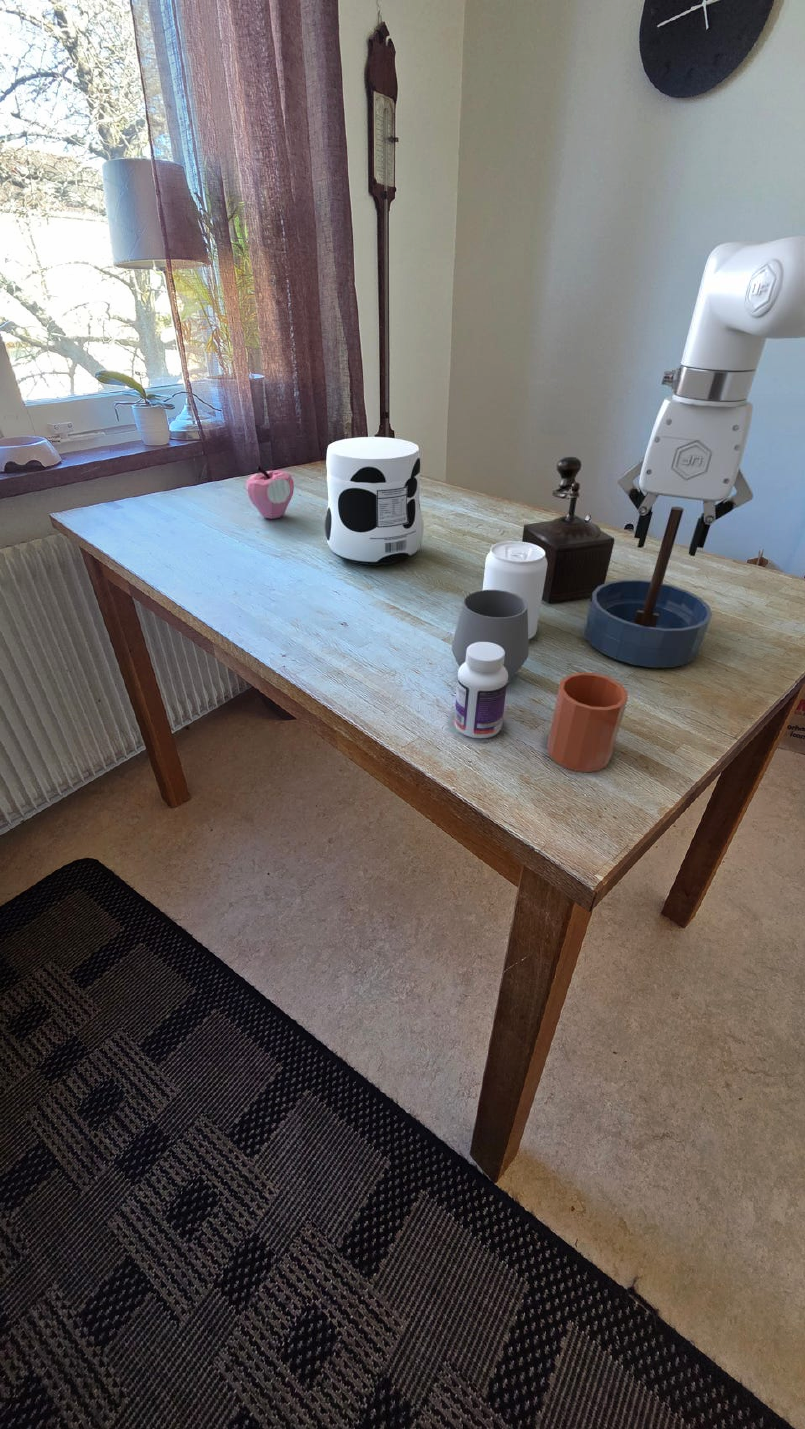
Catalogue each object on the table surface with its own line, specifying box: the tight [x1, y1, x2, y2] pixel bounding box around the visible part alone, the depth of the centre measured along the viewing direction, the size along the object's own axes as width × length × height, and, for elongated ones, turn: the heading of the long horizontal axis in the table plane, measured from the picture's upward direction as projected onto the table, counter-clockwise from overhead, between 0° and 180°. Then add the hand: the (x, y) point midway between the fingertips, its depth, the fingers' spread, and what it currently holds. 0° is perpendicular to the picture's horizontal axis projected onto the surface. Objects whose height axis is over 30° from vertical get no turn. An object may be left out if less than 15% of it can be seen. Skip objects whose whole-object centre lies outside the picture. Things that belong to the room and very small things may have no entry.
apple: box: [245, 464, 295, 519], centre depth 121 cm, size 10×9×10 cm
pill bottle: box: [454, 642, 509, 739], centre depth 65 cm, size 5×5×10 cm
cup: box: [451, 589, 530, 682], centre depth 74 cm, size 10×9×10 cm
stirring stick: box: [634, 506, 685, 627], centre depth 78 cm, size 3×1×18 cm, turn 67°
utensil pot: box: [546, 671, 628, 773], centre depth 62 cm, size 7×7×8 cm
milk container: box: [324, 436, 425, 566], centre depth 103 cm, size 17×17×18 cm
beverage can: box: [482, 540, 547, 640], centre depth 82 cm, size 8×8×12 cm
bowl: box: [583, 579, 713, 669], centre depth 82 cm, size 15×15×6 cm
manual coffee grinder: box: [521, 456, 615, 604], centre depth 95 cm, size 16×11×18 cm
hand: (666, 546), depth 76 cm, fingers open, 5 cm apart
